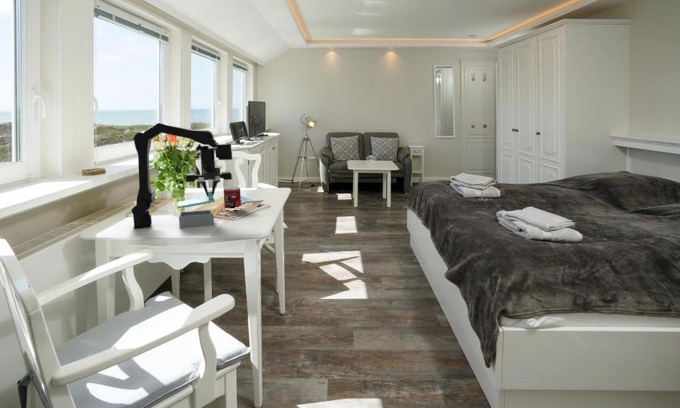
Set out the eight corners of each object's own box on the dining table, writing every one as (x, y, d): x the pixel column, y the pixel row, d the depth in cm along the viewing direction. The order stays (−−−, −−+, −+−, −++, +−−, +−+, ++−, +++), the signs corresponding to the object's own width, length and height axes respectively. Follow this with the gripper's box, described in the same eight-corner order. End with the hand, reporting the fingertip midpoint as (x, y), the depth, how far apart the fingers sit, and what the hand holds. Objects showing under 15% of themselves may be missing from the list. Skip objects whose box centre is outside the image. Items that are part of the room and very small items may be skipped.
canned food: (221, 210, 232) (220, 188, 230) (232, 207, 239) (231, 186, 236) (233, 212, 228) (232, 189, 226) (244, 209, 235) (243, 187, 233)
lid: (178, 209, 197) (176, 198, 196) (178, 204, 206) (176, 194, 205) (215, 202, 201) (213, 191, 200) (213, 198, 211) (211, 188, 210)
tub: (179, 228, 199) (178, 216, 198) (179, 223, 208) (178, 212, 207) (214, 225, 204) (213, 214, 203) (212, 220, 212) (211, 209, 211)
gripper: (185, 163, 192) (187, 201, 195) (232, 161, 197) (234, 198, 201) (184, 160, 202) (187, 196, 205) (229, 158, 208) (231, 193, 211)
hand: (210, 196), depth 205 cm, fingers closed on lid
